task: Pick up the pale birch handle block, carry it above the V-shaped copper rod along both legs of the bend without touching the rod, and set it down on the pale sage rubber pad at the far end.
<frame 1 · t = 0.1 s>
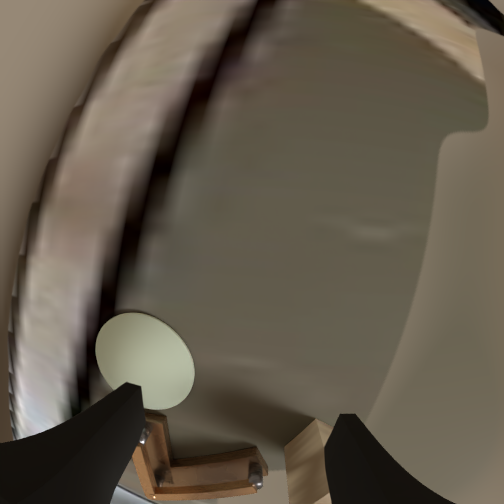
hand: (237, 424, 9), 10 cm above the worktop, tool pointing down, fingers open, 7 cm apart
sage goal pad: (142, 363, 20), on the worktop
birch handle block: (316, 441, 20), on the worktop
copper rod course: (161, 470, 21), on the worktop
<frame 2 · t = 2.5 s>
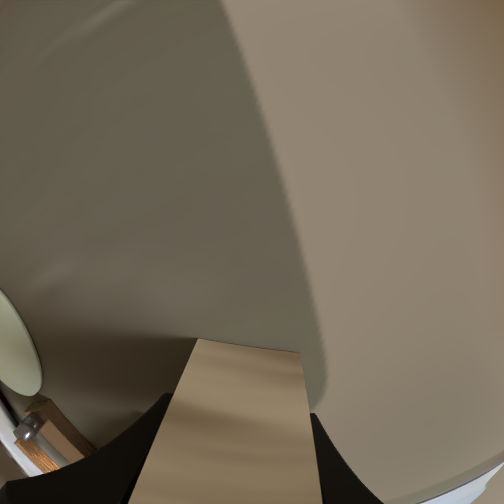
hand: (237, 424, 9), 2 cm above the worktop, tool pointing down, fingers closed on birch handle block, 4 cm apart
birch handle block: (242, 384, 11), on the worktop, touching gripper
copper rod course: (112, 475, 14), on the worktop
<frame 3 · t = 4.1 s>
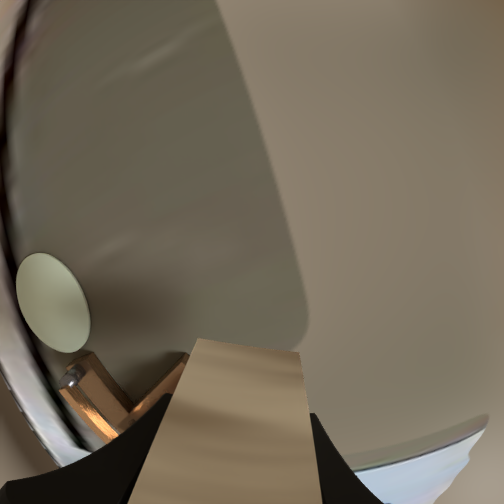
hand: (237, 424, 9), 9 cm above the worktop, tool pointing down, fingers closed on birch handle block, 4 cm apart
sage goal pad: (50, 304, 18), on the worktop
birch handle block: (242, 384, 11), point 6 cm above the worktop, touching gripper
copper rod course: (137, 424, 20), on the worktop
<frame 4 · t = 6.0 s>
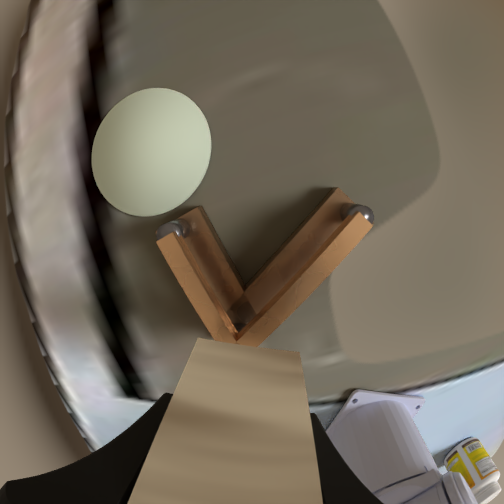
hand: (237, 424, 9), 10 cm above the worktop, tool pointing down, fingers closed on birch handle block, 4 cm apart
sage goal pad: (147, 150, 16), on the worktop
birch handle block: (242, 384, 11), point 7 cm above the worktop, touching gripper
copper rod course: (241, 322, 19), on the worktop
supplement bottle: (459, 448, 22), on the worktop
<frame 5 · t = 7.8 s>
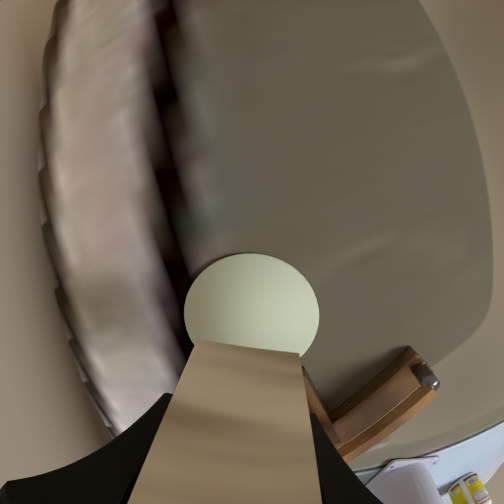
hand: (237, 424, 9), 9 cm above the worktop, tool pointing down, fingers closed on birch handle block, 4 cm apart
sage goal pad: (251, 318, 18), on the worktop
birch handle block: (242, 385, 11), point 7 cm above the worktop, touching gripper
copper rod course: (320, 434, 20), on the worktop
supplement bottle: (461, 480, 23), on the worktop
when the fingers open (4 cm above the worktop, at t = 9.4 s): birch handle block drops 1 cm, resting on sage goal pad.
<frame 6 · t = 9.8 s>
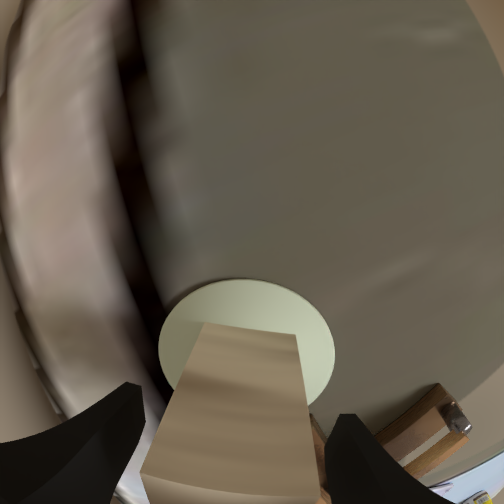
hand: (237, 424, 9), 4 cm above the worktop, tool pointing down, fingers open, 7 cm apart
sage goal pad: (245, 361, 13), on the worktop
birch handle block: (244, 365, 13), resting on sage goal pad
copper rod course: (328, 477, 15), on the worktop
supplement bottle: (470, 498, 19), on the worktop
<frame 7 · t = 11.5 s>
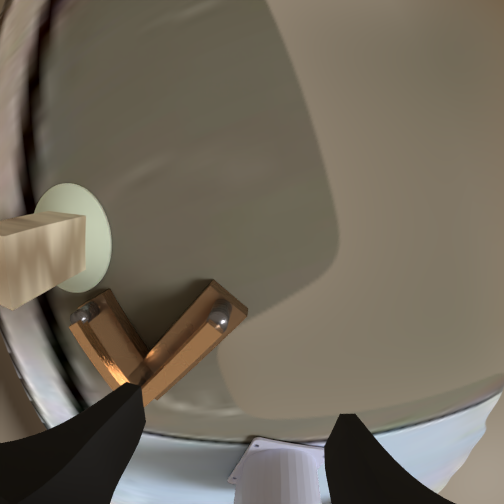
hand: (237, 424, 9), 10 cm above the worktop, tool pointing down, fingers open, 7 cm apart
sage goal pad: (68, 238, 18), on the worktop
birch handle block: (65, 239, 18), resting on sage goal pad
copper rod course: (150, 377, 21), on the worktop
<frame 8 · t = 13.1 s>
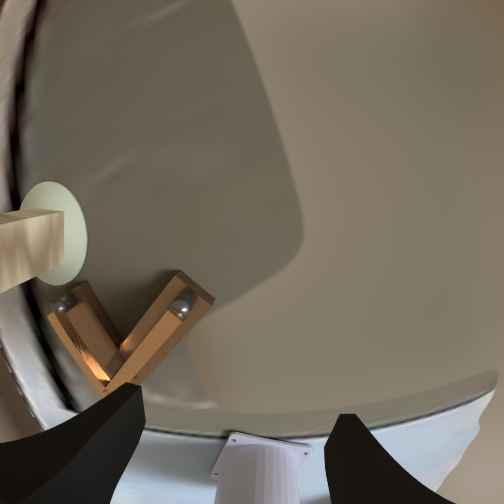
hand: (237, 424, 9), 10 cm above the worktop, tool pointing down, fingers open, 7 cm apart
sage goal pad: (49, 234, 19), on the worktop
birch handle block: (47, 234, 18), resting on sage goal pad
copper rod course: (127, 368, 21), on the worktop
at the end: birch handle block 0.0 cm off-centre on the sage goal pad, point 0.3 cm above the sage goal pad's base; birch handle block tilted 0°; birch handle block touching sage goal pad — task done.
